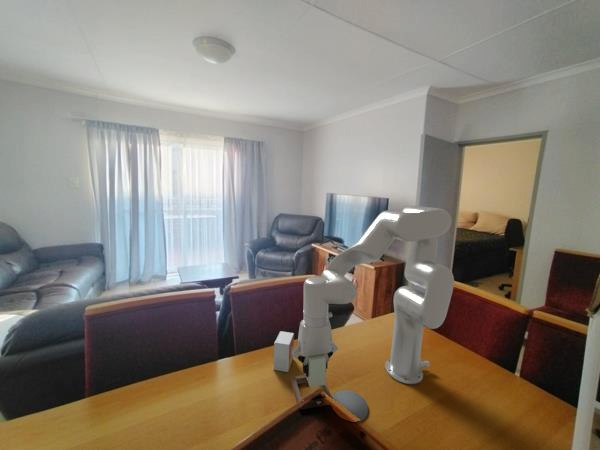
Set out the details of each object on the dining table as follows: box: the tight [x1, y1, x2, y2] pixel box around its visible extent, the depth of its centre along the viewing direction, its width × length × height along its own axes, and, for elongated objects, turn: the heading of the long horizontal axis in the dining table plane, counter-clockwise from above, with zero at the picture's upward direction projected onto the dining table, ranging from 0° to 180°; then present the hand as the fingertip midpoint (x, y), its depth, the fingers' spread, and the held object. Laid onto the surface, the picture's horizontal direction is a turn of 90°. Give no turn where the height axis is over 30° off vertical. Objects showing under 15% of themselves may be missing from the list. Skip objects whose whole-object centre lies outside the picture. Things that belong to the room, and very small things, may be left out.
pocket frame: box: [290, 374, 333, 405], centre depth 81 cm, size 10×11×2 cm
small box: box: [272, 330, 295, 373], centre depth 93 cm, size 8×6×10 cm
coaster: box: [331, 389, 369, 421], centre depth 77 cm, size 11×11×1 cm
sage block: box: [304, 354, 327, 388], centre depth 80 cm, size 5×6×9 cm
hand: (314, 371), depth 80 cm, fingers closed on sage block, 5 cm apart
